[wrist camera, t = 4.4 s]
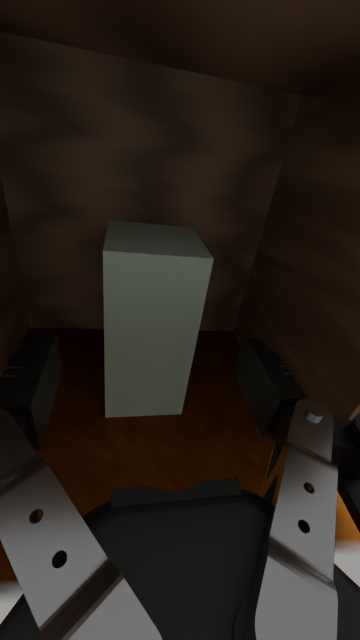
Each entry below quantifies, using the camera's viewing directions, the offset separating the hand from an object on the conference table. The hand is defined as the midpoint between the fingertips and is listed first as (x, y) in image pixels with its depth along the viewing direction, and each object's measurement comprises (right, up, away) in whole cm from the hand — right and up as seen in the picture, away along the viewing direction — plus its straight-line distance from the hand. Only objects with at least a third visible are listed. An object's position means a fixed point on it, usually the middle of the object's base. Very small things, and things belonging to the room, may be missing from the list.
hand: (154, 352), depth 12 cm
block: (-1, -3, +6) cm, 7 cm away
